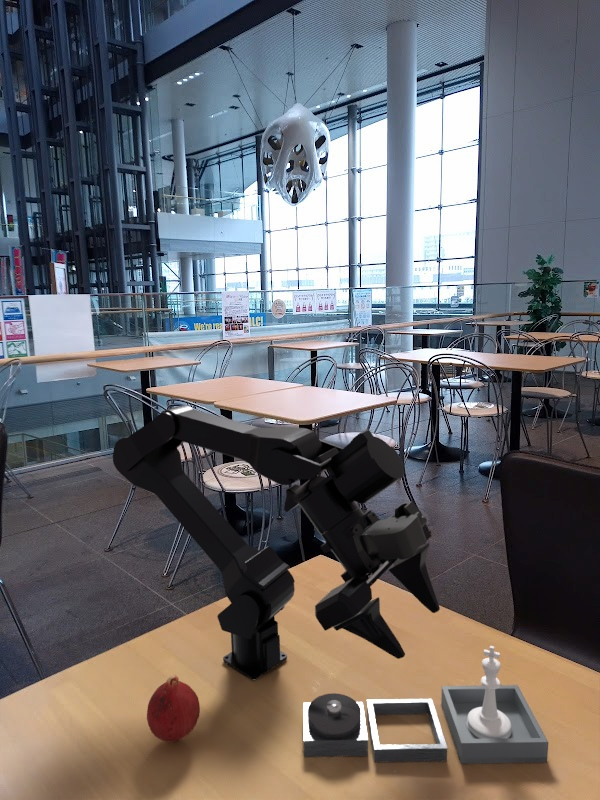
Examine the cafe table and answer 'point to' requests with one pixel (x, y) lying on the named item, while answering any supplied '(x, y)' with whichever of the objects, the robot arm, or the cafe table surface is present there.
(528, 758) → the tray
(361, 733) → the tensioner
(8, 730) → the cafe table surface
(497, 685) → the chess piece
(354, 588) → the robot arm
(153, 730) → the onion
